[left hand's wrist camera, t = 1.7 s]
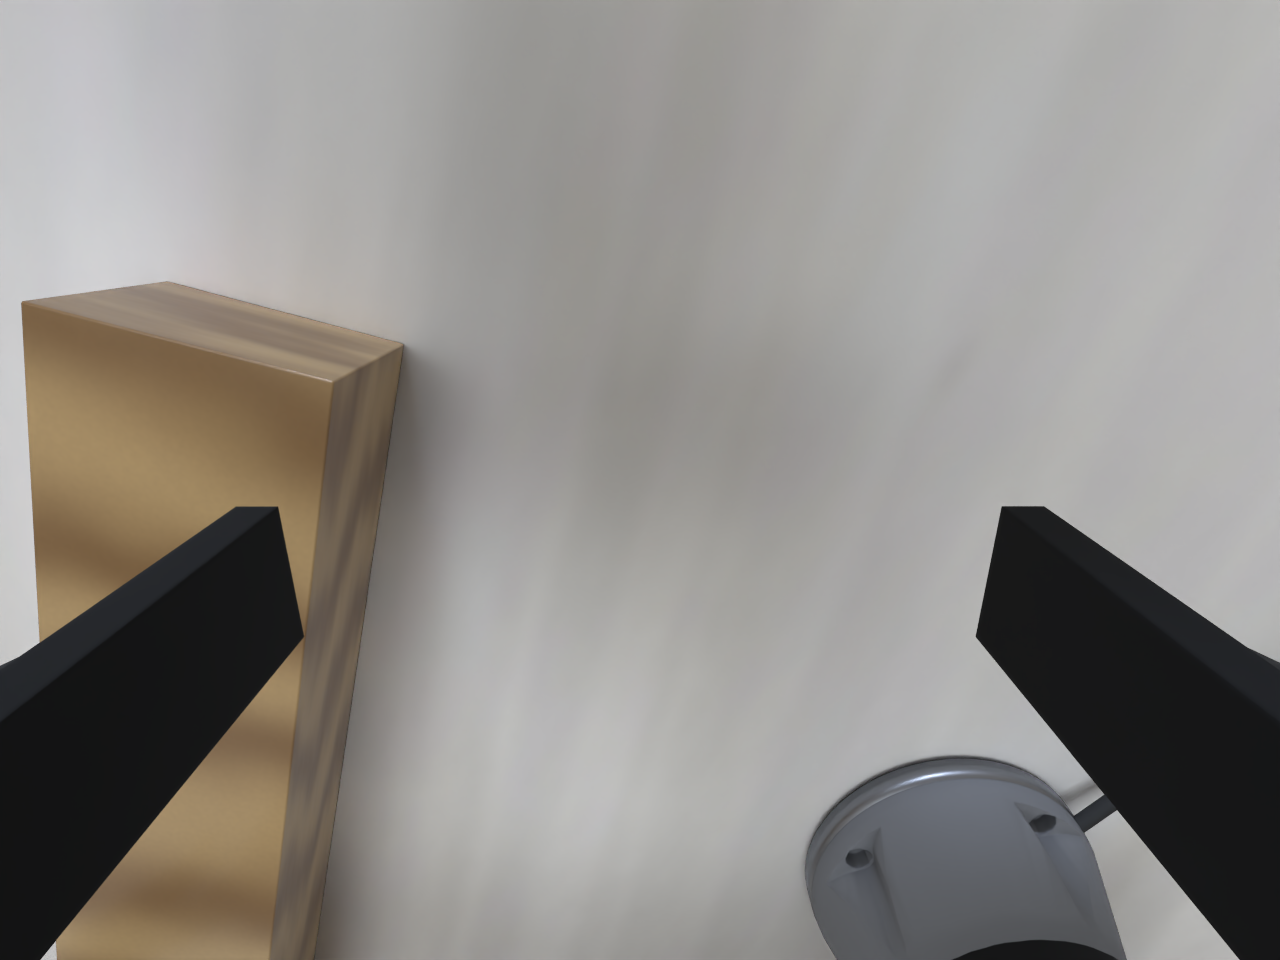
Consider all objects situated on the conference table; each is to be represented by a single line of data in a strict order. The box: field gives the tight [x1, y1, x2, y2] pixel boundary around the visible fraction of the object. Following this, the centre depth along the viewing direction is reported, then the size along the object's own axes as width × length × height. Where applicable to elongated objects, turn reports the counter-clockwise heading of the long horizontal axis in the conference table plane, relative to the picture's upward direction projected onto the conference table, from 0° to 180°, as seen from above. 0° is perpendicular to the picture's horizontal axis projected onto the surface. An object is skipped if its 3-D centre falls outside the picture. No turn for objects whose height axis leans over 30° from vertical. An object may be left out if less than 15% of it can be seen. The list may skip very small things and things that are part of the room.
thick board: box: [21, 282, 403, 960], centre depth 34 cm, size 50×10×7 cm, turn 165°
